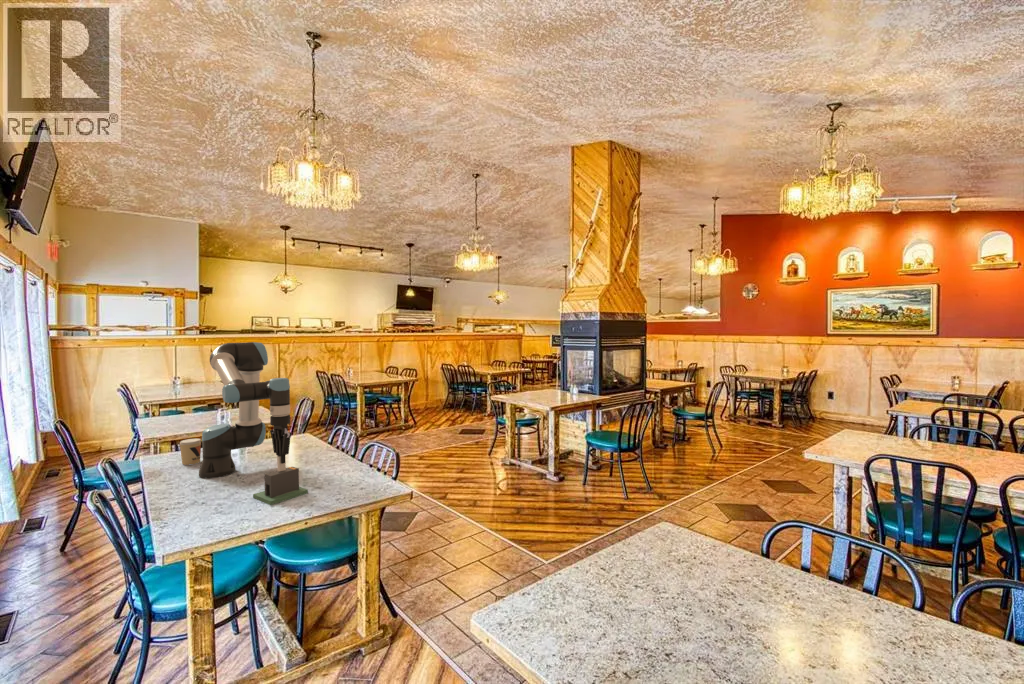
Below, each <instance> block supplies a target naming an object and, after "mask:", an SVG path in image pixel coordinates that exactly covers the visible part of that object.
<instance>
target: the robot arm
mask: <svg viewBox="0 0 1024 684" xmlns="http://www.w3.org/2000/svg"><path fill="white" fill-rule="evenodd" d="M268 357H269V356H268V352H267V348H266V346H265V344H264V343H262V342H255V341H251V342H250V341H249V342H227V343H223V344H220V345H219V346H217V347H215V349H214V350H213V351H212V352H211V354H210V355H209V364H210V366H211V368H212V369H213V370H214V371H216V372H217V374H218V376H219V378H220V380H221V382H222V385H223V386H222V391H221V397H222V400H223V402H224V403H227V404H228V403H229V404H231V403H234V404H235V403H238V418H237V419H236V420H235V422H234V423H235V424H234V425H231V424H230V423H219V424H215V425H212V426H208V427H207V428H205V429H204V430H203V431H202V435H201V449H202V460H201V461H202V462H201V464H200V468H199V469H198V477H199V478H201V479H215V478H221V477H225V476H228V475H231V474H234V473H235V472H236V464H235V462H234V460H233V458H232V451H233V450H238V449H245V448H254V447H256V446H257V447H258V446H260V445H262V444H263V443H264V441H265V438H266V430H267V429H266V424H265V423H264V422H263V420H262V418H260V417H259V410H260V400H261V401H263V400H269V412H270V418H269V419H270V422H269V423H270V426H273V429H270V430H269V432H270V437H271V441H272V449H273V453H274V454H275V455H276V459H277V461H276V462H277V468H276V469H277V470H278V471H279V472H280V471H284V470H286V468H287V466H286V465H287V464H286V463H287V462H286V455H289V453H290V444H291V437H292V435H293V433H292V432H290V431H289V427H288V425H289V424H291V415H290V414H291V403H290V402H291V396H290V395H291V393H290V392H291V390H290V389H291V385H290V384H291V383H290V379H289V378H288V377H273V378H270V379H269V380H265V381H260V378H261V377H260V373H261V372H262V371H263V370H264V366H267V365H268V363H269V358H268Z"/></svg>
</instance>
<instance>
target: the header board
mask: <svg viewBox="0 0 1024 684" xmlns="http://www.w3.org/2000/svg"><path fill="white" fill-rule="evenodd" d="M306 494H309V489H308V488H304V487H301V486H299V489H298V490H295V491H292V492H289V493H285V494H282V495H279V496H276V497H272V498H270V495H267V496H265V490H263V491H260V492H257V493H253V494H252V498H253V499H255V500H258V501H259V502H262V503H265V504H267V505H269V506H272V505H275V504H278V503H281V502H284V501H287V500H291V499H293V498H296V497H300V496H303V495H306Z"/></svg>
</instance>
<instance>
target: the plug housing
mask: <svg viewBox="0 0 1024 684" xmlns="http://www.w3.org/2000/svg"><path fill="white" fill-rule="evenodd" d="M299 470H300V468H298V467H295V466H290V467H286V470H284V471H280V472H279V471H278V469H277V470H274V471H271V472H267V473H264V476H263V477H264V491H265V496H267V495H270V498H272V497H276V496H279V495H282V494H285V493H289V492H292V491H295V490H298V489H299V487H300V471H299Z"/></svg>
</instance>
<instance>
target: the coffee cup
mask: <svg viewBox="0 0 1024 684" xmlns="http://www.w3.org/2000/svg"><path fill="white" fill-rule="evenodd" d="M179 447H180V449H179V450H180V456H181V464H184V465H183V466H190V465H189V464H193V465H197V464H199V463H200V462H201V454H202V453H201V451H202V450H201V449H202V438H188V439H183V440H180V442H179ZM196 463H197V464H196Z"/></svg>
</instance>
